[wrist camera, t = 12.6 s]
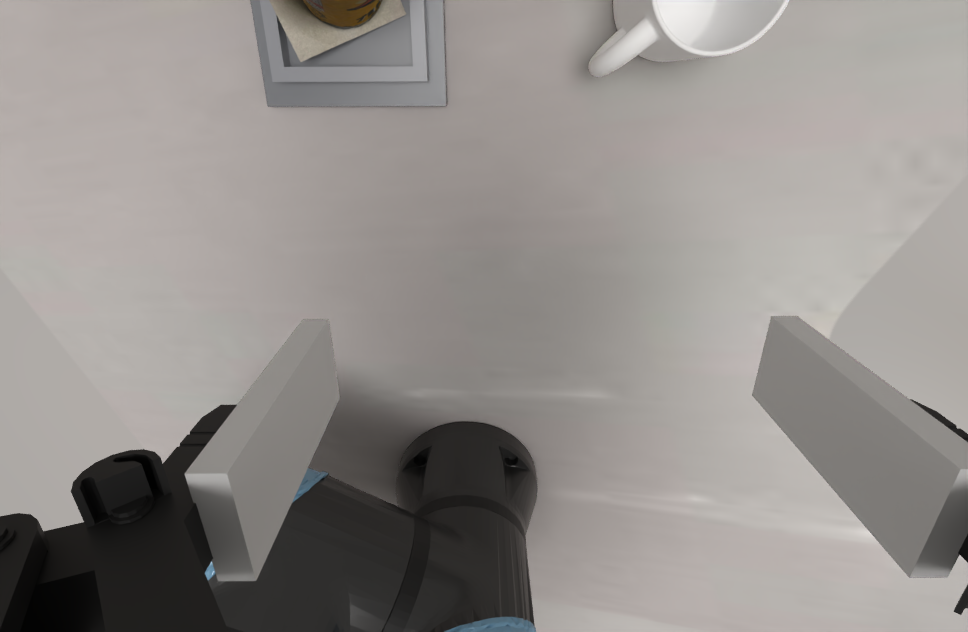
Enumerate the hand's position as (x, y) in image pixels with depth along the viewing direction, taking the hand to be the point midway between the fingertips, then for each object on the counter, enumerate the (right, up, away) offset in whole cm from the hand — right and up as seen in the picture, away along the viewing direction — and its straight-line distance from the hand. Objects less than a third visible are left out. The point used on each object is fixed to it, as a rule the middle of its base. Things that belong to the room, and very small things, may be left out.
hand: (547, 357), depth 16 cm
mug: (+10, +24, +23) cm, 35 cm away
